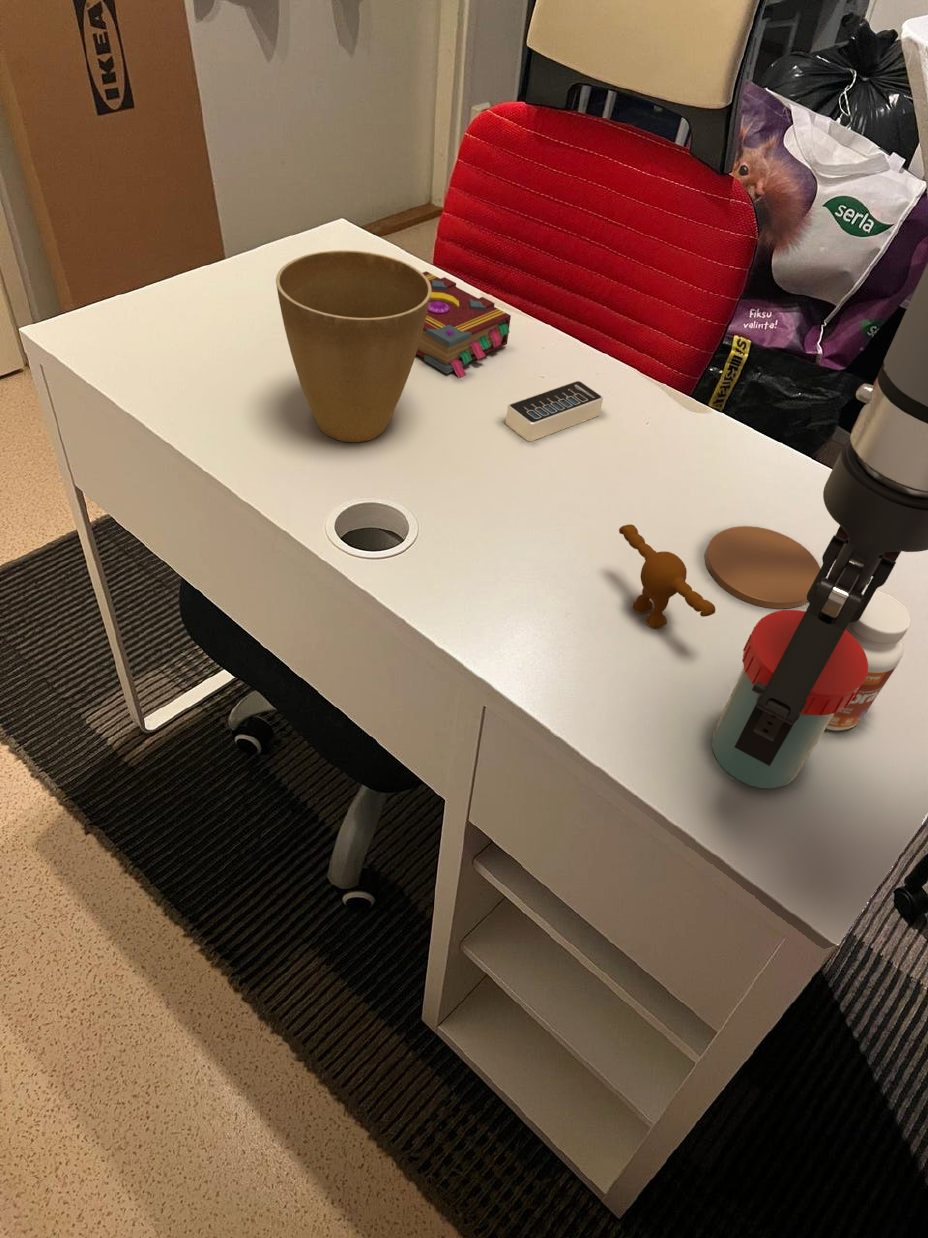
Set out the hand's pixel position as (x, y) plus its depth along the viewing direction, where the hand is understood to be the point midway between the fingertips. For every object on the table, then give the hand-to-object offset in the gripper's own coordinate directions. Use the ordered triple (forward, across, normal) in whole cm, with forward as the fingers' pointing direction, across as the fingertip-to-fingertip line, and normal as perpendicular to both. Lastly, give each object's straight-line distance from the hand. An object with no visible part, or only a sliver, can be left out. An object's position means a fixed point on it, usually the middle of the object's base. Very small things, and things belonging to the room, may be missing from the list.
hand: (779, 707), depth 67 cm
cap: (-6, 0, 0) cm, 6 cm away
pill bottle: (+6, -8, +3) cm, 11 cm away
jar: (+6, 0, 0) cm, 6 cm away
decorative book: (+6, -36, -56) cm, 67 cm away
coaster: (+6, -22, -8) cm, 23 cm away
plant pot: (+6, -15, -52) cm, 55 cm away
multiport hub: (+6, -30, -36) cm, 48 cm away
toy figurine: (+6, -9, -14) cm, 17 cm away
